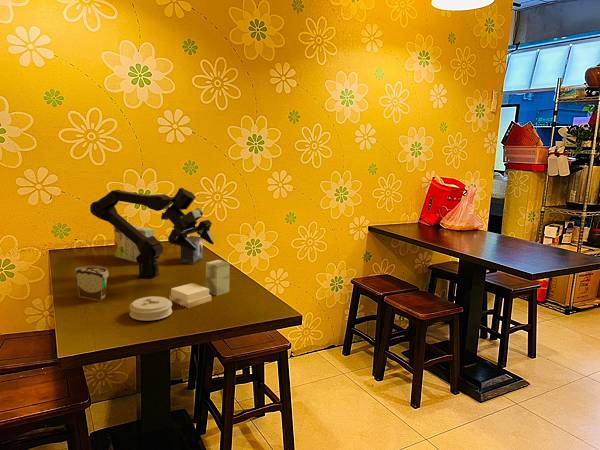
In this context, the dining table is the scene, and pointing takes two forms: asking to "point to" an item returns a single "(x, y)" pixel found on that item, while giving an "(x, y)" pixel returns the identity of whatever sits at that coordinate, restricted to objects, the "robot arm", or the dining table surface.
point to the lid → (150, 308)
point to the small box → (192, 251)
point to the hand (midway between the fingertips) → (204, 246)
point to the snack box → (128, 244)
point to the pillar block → (217, 277)
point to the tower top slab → (190, 292)
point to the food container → (92, 282)
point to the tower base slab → (191, 303)
